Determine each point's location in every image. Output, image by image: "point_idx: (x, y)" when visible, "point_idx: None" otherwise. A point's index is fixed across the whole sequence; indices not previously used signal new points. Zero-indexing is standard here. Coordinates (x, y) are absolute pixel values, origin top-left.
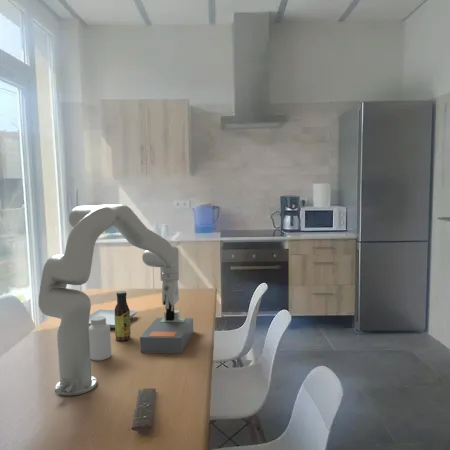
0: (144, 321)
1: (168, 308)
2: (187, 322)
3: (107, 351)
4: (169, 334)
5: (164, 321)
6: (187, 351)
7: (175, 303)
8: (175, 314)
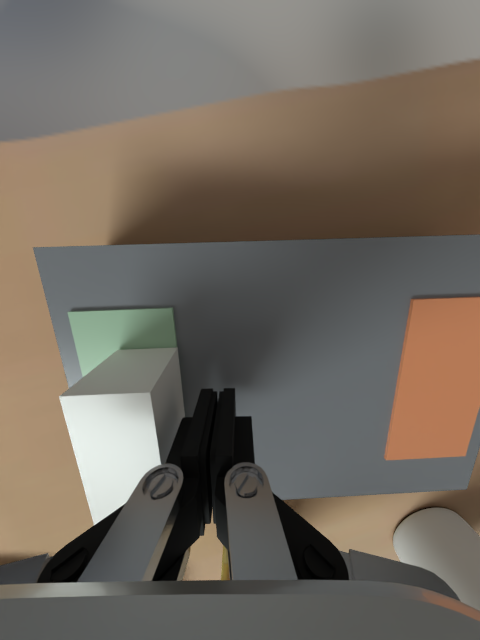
0: (21, 527)
1: (418, 575)
2: (164, 271)
3: (475, 538)
4: (462, 338)
5: None
6: (413, 214)
7: (307, 603)
8: (160, 407)
